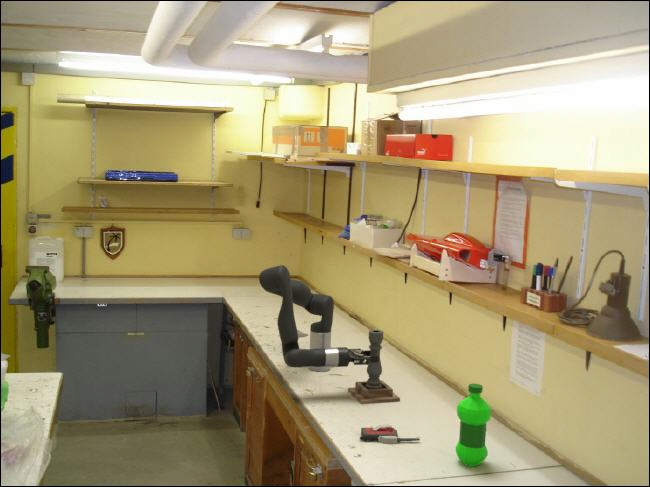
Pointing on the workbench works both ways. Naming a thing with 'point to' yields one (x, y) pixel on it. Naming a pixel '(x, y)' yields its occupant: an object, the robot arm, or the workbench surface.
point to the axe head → (301, 334)
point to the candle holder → (374, 367)
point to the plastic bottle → (473, 427)
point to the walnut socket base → (373, 393)
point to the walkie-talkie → (383, 435)
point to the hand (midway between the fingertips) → (375, 356)
